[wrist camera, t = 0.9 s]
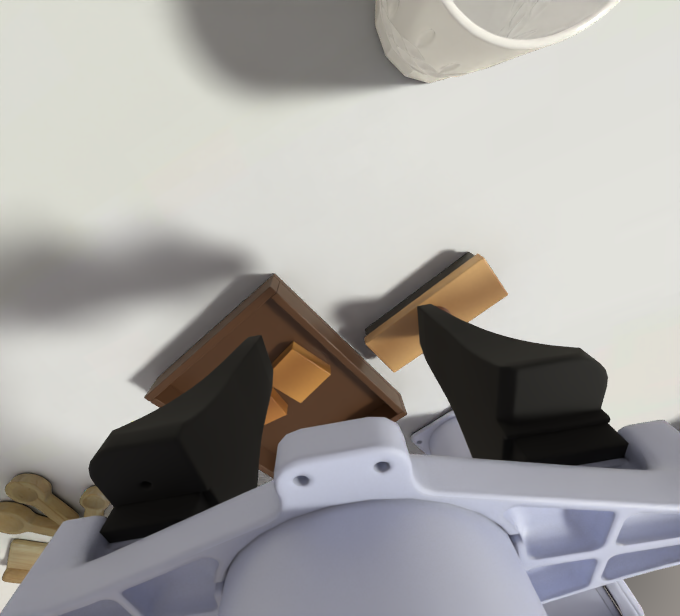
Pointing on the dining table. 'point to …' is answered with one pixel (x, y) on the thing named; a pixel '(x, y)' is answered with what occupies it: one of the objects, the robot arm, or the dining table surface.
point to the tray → (278, 333)
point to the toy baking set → (38, 519)
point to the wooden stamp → (443, 292)
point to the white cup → (475, 31)
